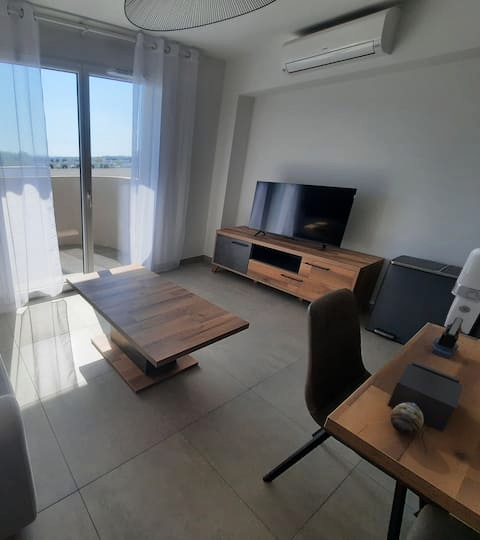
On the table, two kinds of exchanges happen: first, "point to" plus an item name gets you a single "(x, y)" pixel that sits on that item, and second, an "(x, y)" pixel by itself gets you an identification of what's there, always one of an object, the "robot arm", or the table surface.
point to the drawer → (436, 372)
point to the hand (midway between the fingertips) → (445, 345)
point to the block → (443, 349)
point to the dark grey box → (427, 395)
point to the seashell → (407, 418)
